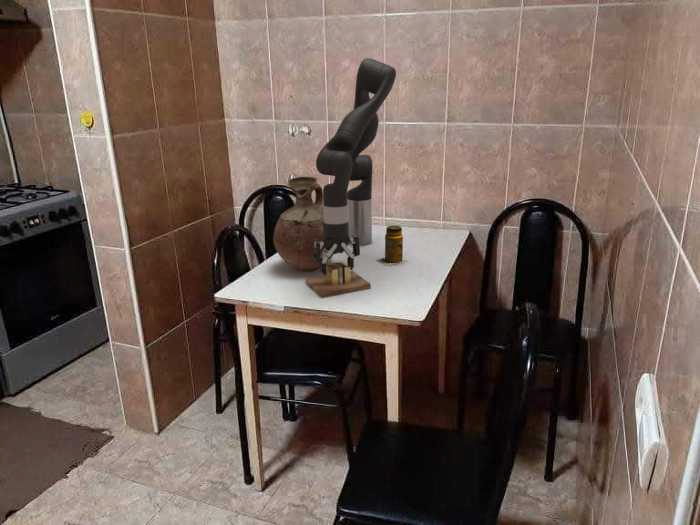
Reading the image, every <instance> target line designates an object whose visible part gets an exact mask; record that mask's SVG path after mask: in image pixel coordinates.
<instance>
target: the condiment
mask: <svg viewBox="0 0 700 525" xmlns="http://www.w3.org/2000/svg"><path fill="white" fill-rule="evenodd" d="M385 230H386V231H385V236H384V257H382V258H377V259H376V261H377V262H378V263H381V264H383V265H386V266H387V267H389V266H392V265H393V266H394V265H397V264H396V263H398V264H401V263H406V262H408V260H406V259H405V258H404V259H403V257H404V256H403V253H404V252H403V247H404V245H403V243H404V241H403V240H404V236H403V234H402V233H403V229H402V226H399V225H388V226H387V227H386V229H385ZM403 261H404V262H403ZM400 262H401V263H400ZM390 263H391V264H390ZM393 263H394V264H393Z"/></svg>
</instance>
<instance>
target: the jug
mask: <svg viewBox="0 0 700 525" xmlns="http://www.w3.org/2000/svg"><path fill="white" fill-rule="evenodd" d="M287 182H288V187H289V188H290V189H291V191H292V192H294V194H295V203H294V205H293V206H291V207H289V208H288V209H287V210H285V211H284V212H282V213H281V214H280V215H279V218H278V220H277V222H276V225H275V227H274V230H273V239H272V241H273V245H274V249H275V250H276V252H277V253H278V256H279V257H280V258H281V259H282V260H283V261H284V262H285V263H286V264H288V265H289V266H291V267H293V268H294V269H296V270H297V271H300V272H307V273H308V272H310V273H311V272H315V271H318V270H320V262H316V261H315V260H314V259H313V243H314V241H317V242H320V241H323V240H324V233H323V187H322V186H321V184H319V182H318V179H317V177H314V176H305V175H304V176H295V177H292V178H289V179H288V181H287ZM313 192H314V193H315V199H314V200H315V201H313V197H312V194H313ZM324 249H325V247H324V245H323V246H322V248H321V249H320V256H321V255H322V252H323V250H324ZM334 255H335V254H331V256H330V257H329V258H328V259H327V261H326V262H325V263H326V264H327V263H328V262H329V261H331V259H332V257H333V256H334Z"/></svg>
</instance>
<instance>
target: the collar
mask: <svg viewBox="0 0 700 525" xmlns="http://www.w3.org/2000/svg"><path fill="white" fill-rule="evenodd" d="M334 264H341V265H342V267H343V279H344V284H348V283H351V271H352V270H351V267H349V266H348V265H347V263H345V262H343V261H338V262H331V263H326V270H327V274H326V275H324V276H325V280H326V281H327V282H328V283H329V284H330V285H332V286H337V285H338V269H332V265H334Z"/></svg>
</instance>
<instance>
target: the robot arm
mask: <svg viewBox="0 0 700 525" xmlns="http://www.w3.org/2000/svg"><path fill="white" fill-rule="evenodd" d="M396 75H397V71H396V69H395V67H393V66H391V65H390V64H386V63H385V62H381V61H380V60H377V59H373V58H370V57H368V58H367V57H366V58H364V59H362V60H361V62H360V64H359V67H358V69H357V74H356V79H355V80H356V81H355V89H354V90H355V92H354V102H353V110H351V111H349V112H348V113H347V114H346V115H345V117H343V119H342V121H341V122H340V125H339V126H338V128H337V130H336V132H335V134H334V136H332V137H331V139H330V140H328V142H326V144H325V145H324V146H323V147H322V148H321V150H320V151H319V152H318V154H317V157H316V161H315V166H316V170H317V171H318V173H319V174H321V175H324V176H332V177H334V179H333V182H332V183H328V184H325V185H324V186H323V187H322V192H323V233H324V240H323V241H320V242H317V241H314V243H313V259H314V260H315V261H316V262H320V269H319V271H320V273H321V274H322V275H323V276H325V275H326V274H327V270H326V264H327V262H326V261H327V259H328V258H329V257H330V256H331V254H334V255H336V254H343V253H345V254H346V255H347V258H346V259H347V263H346V264H347V265H348V266H349V267H351V271H354V270H353V269H354V268H355V258H356V257H358V256H361V248H360V246H367V245H370V244H372V242H373V239H372V238H373V237H372V236H373V235H372V232H373V217H372V213H373V212H372V211H373V210H372V209H373V204H372V202H373V200H372V193H373V192H372V191H373V188H372V186H373V185H372V184H373V169H374V168H373V159H372V157H371V155H368V154H361V153H362V152H364V151H365V150H366V149H367V148H368V147H369V146H370V145H371V144H373V142H374V140H375V139H376V136H377V133H378V128H379V122H380V121H379V116H378V111H379V109H381V106H382V105H383V103H384V102H385V101H386V99H387V98H388V96H389V94H390V92H391V91H392V89H393V87H394V84H395V81H396V77H397V76H396ZM370 94H372V95H373V96H372V97H370ZM355 181H357V182H358V181H361V182H360V183H359V184H358V185H357V186H355V187H353V188H350V189H349V185H350V182H355ZM348 189H349V190H348ZM323 245H324V247H325V249H324V250H323V252H322V255H321V256H320V249H321V248H322V246H323ZM349 245H352V250H351V249H350V248H349V247H348V246H349ZM325 262H326V263H325Z"/></svg>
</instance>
